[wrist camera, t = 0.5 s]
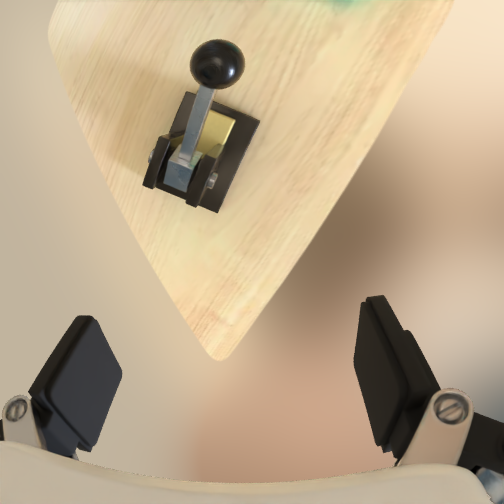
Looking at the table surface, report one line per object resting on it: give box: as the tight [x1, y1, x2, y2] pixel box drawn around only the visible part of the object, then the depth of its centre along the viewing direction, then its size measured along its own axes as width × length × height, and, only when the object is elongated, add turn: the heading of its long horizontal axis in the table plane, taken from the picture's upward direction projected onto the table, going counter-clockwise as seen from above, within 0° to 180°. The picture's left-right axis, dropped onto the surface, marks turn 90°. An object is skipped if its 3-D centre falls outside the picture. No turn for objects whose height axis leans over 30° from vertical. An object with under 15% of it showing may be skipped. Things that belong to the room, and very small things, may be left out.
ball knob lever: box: [163, 39, 245, 192], centre depth 21 cm, size 13×4×4 cm, turn 157°
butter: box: [196, 110, 235, 159], centre depth 31 cm, size 5×4×3 cm
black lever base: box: [142, 92, 260, 213], centre depth 29 cm, size 12×9×12 cm
